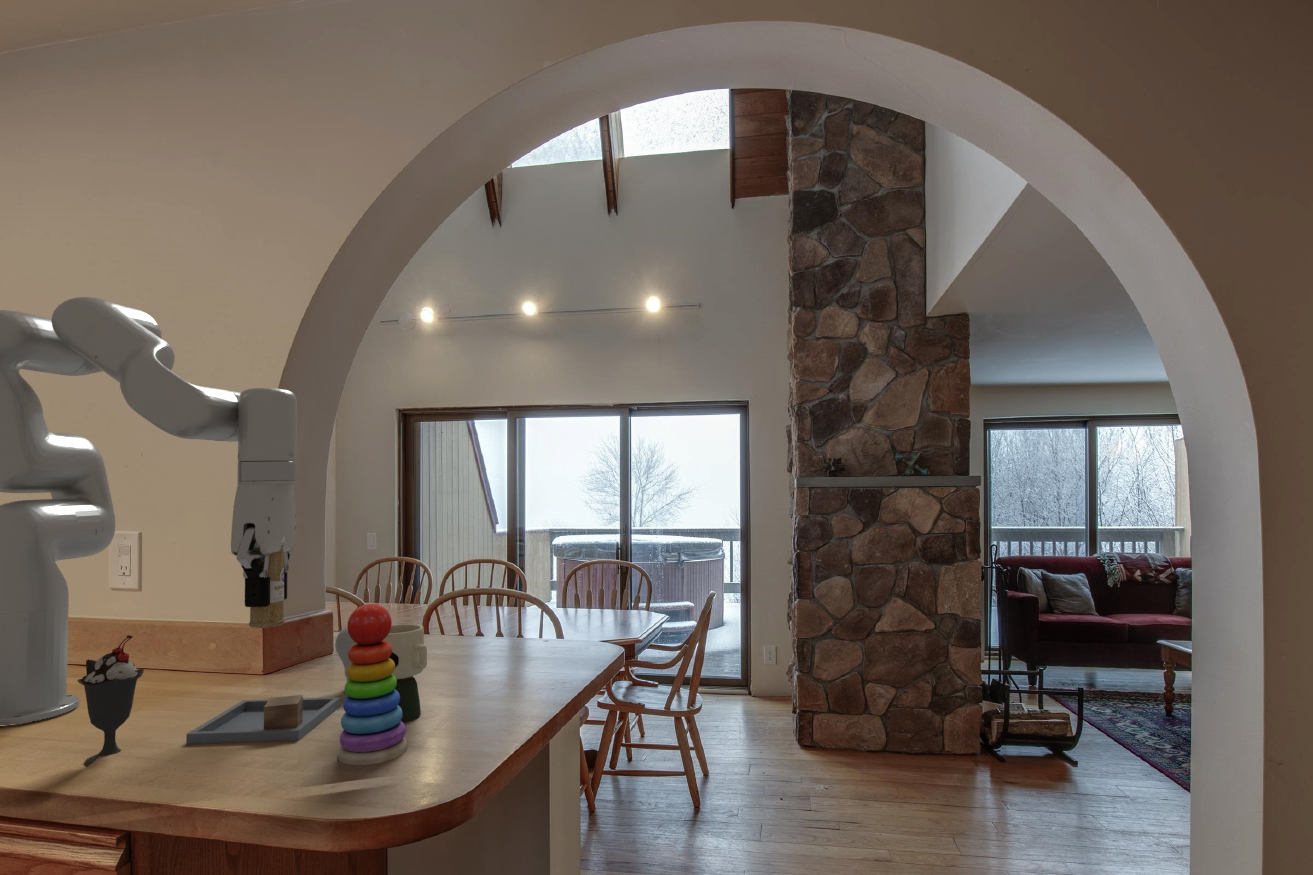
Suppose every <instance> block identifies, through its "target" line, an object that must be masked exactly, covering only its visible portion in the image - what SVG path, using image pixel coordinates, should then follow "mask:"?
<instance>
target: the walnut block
mask: <svg viewBox="0 0 1313 875" xmlns="http://www.w3.org/2000/svg"><path fill="white" fill-rule="evenodd" d="M303 695H304V694H297V695H287V696H277V697H270V698H269V700H268V702H267V703H266V705H265V706H264V729H295V728H297V727H298V726H299V725H301V724H302V722H303V698H304V697H303Z"/></svg>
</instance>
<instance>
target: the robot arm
mask: <svg viewBox="0 0 1313 875" xmlns="http://www.w3.org/2000/svg"><path fill="white" fill-rule="evenodd" d="M51 315H52V316H51V318H47V317H44V316H41V315H35V314H31V313H25V312H21V311H15V310H7V309H0V493H5V494H8V493H9V494H39V493H43V494H45V493H49V494H50V496H51V498H48V499H47V498H45V499H42V498H41V499H24V500H23V499H22V500H15V501H10V502H6V503H3V504H1V505H0V725H10V724H18V725H21V724H20V723H25V724H28V723H27V722H30V723H33V722H32V721H35V722H38V721H37V720H39V721H43V720H42V719H44V720H47V719H46V718H48V719H50V717H51V718H53V717H54V716H55V717H57V716H61V715H64V714H65V713H68V712H71V711H73V710H74V708H75V709H76V708H78V707H79V705H80V696H78V695H76V694H72V693H67V686H68V685H67V680H68V673H67V672H68V648H69V647H68V644H69V641H68V639H69V606H70V603H69V601H70V600H69V598H70V596H69V587H68V582H67V580H66V578H65V577H64V575H63V573H62V571H61V570H60V568H59V567H58V565H57V563H56V562H57V561H63V560H72V559H78V558H86V557H90V556H95V555H97V554H99V553H101V552H103V551H105V549H107V548H108V547H109V545H110V544H111V543H112V541H113V539H114V536H115V532H116V516H115V509H114V505H113V500H112V494H111V489H110V484H109V480H108V475H107V470H106V465H105V462H104V459H103V458H104V457H103V456H102V454H101V452H100V450H99V448H97V446H96V445H95V444H94V443H93V442H91V440H89V439H87V438H86V437H84V436H81V435H78V434H74V433H63V432H52V431H50V430H49V428H48V426H47V423H46V420H45V417H44V410H43V404H42V402H41V400H40V398H39V396H38V394H37V393H36V391H35V390H34V388H33V387H32V386H31V385H30V383H29V382H28V381H26V380H25V378H23V376H22V375H21V374H20V370H26V371H31V372H32V371H33V372H37V373H38V372H39V373H48V374H52V375H53V374H54V375H59V376H67V377H68V376H71V377H72V376H73V377H74V376H75V377H81V376H87V375H91V374H92V375H93V374H96V373H97V374H98V373H100V372H104V373H105V374H107V375H108V376H109V377H111V378H112V379H114V380H115V381H116V382H118V383H119V389H120V391H121V393H122V396H123V399H124V400H125V402H126V403H127V405H128V406H129V407H130V409H131V410H132V411H134V412H135V413H137V414H138V415H139V416H141V417H142V418H143V419H145V420H146V421H147V422H149V423H151V424H152V425H153V426H155V427H157V428H158V429H159V430H161V431H163V432H165V433H167V434H168V435H171V436H174V437H176V438H180V439H185V440H201V441H214V442H230V443H231V442H235V443H236V442H237V487H236V492H235V495H234V501H233V503H234V504H233V511H232V520H231V521H232V522H231V539H230V552H231V554H232V555H234V556H235V557H236V560H237V562H238V563H239V564H240V565H241V568H242V570H243V571H242V572H243V573H242V577H243V579H244V606H245V607H246V608H250V607H266V606H269V605H270V577H267V573H268V565H269V556H270V555H272V554H274V553H276V552H279V551H280V549H281V546H282V545H284V546H283V547H282V548H283V549H284V601H285V600H287V598H288V572H289V560H290V559H291V558H290V556H291V553H292V552H293V550H294V548H295V547H294V546H295V545H296V539H297V538H296V536H297V517H296V515H297V513H296V500H295V499H296V498H295V488H294V485H297V484H298V482H297V481H298V480H297V479H298V473H297V472H298V471H297V470H298V469H297V468H298V463H297V462H298V456H297V455H298V400H297V397H296V395H295V394H294V392H292V391H290V390H288V389H282V388H274V387H273V388H271V387H254V388H248V389H244V390H243V391H241V392H240V391H234V390H228V389H224V388H223V389H222V388H217V387H216V388H215V387H210V386H203V385H197V384H193V383H191V382H189V381H188V380H185V379H184V378H183V377H180V376H179V375H178V374H176V373H175V372H173V370H172V369H173V368H174V365H175V360H176V359H175V358H176V357H175V351H174V349H173V347H172V346H171V345H170V343H169V342H167V341H166V340H164V339H163V338H162V330H161V327H160V326H159V324H158V322H157V321H156V320H155V319H154V318H153V317H152V316H151V315H150V314H149V313H147V312H145V311H143V310H141V309H139V308H134V307H131V306H127V305H123V304H120V303H116V302H113V301H108V300H105V299H102V298H101V299H100V298H96V297H90V296H88V297H87V296H79V297H78V296H77V297H74V298H69V299H66V300H64V301H63V302H61V303H60V304H59V305H57V307H56V308H55V309H54V310H53V313H52V314H51ZM283 536H284V537H285V543H283V544H281V540H282V538H283ZM283 549H282V550H283ZM253 550H259V551H261V553H262V554H254V555H253ZM258 560H261V566H260V564H259V562H258ZM63 713H64V714H63ZM60 714H61V715H60ZM55 717H54V718H55Z"/></svg>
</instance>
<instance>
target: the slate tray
mask: <svg viewBox="0 0 1313 875" xmlns="http://www.w3.org/2000/svg"><path fill="white" fill-rule="evenodd" d="M269 699H270V698H269ZM269 699H267V698H266V699H265V698H264V699H242V700H241V701H239V702H238V703H236V704H234V705H233V706H231V707H229V708H228V709H226V710H224V711H222V712H221V713H219V714H218V715H216V716H214V717H212V718H210V719H209V720H208V721H206V722H204V723H203V724H201V725H200V726H198V727H196V728H195V729H193V730H191V731H189V732H187V733H186V734H185V735H186V738H185V739H186V742H185V743H186V745H197V744H198V745H200V744H201V745H202V744H203V745H205V744H225V743H226V744H230V743H231V744H232V743H233V744H234V743H257V742H258V743H260V742H264V743H265V742H288V741H289V742H290V741H291V742H292V741H300V740H301V739H302V738H304V737H305V736H306V735H307V734H309V733H310V732H311V731H312V730H313V729H314V728H316V727H317V726H318V725H319V724H320V723H322V722H323V721H324V720H326V719H327V718H328V717H329V716H330V715H331V714H333V713H334V712H335V711H336V710H338V709H339V708H340V707H341V706H342V698H341V696H338V697H336V696H335V697H333V696H332V697H305V698H304V697H303V722H302V724H301V725H299V726H298V727H297V728H295V729H264V706H265V705H266V703H267V702H268V700H269Z"/></svg>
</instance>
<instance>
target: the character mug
mask: <svg viewBox="0 0 1313 875" xmlns="http://www.w3.org/2000/svg"><path fill="white" fill-rule="evenodd" d="M424 628H425V627H424V626H423V625H421V624H418V623H417V624H416V623H399V624H398V623H396V624H391V629H390V632H389V634H388V635H387V637H386V638H385V639H384V640H383V641H387V642H389V643H390V644H391V646H392V654H391V655H390V657H389V658H390V659H392V660H393V661H394V663H395V670H394V672H393V673H392V674H393V675H394V676H395V677H396V680H397V685H396V687H395V690H397V691H398V693H399V695H400V701H399V704H398V706H399V707H400V708H401V709H402V719H401V721H402V722H403V723H404V724H406V723H410V722H412V721H414V720H415V719H417V718H419V717H420V716H421V715H422V711H421V710H422V709H421V701H420V695H419V688H418V686H419V685H418V682H417V680H416V677H414V676H416V675H419V674H421V673H422V672H424V671H423V670H424V669H426V667H427V664H428V649H427V646H426V645H425V629H424Z"/></svg>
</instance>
